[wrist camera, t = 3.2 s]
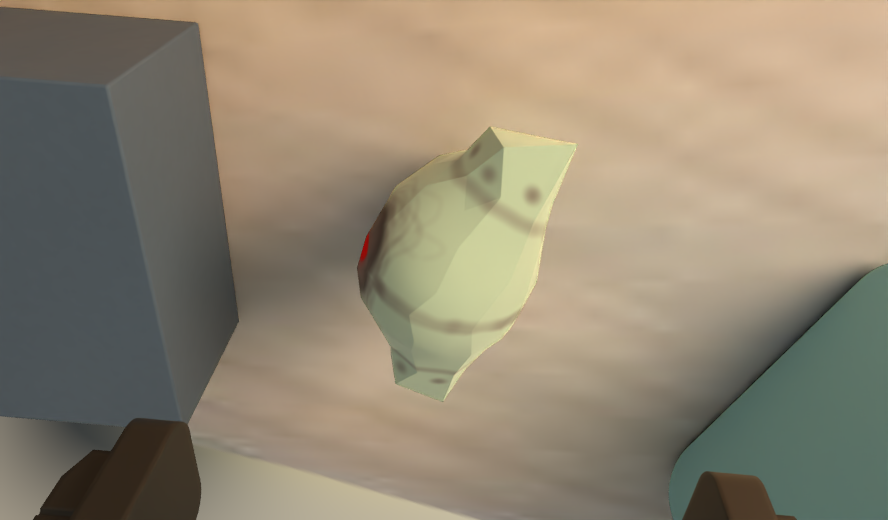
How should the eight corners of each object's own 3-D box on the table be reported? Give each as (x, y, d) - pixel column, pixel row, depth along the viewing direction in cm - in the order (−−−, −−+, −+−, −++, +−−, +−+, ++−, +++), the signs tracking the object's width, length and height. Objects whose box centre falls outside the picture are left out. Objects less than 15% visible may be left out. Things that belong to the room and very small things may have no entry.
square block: (-49, 297, 23) (-167, 402, 19) (-180, -9, 18) (-388, 45, 13) (239, 321, 23) (184, 433, 19) (199, 22, 17) (107, 85, 13)
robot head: (470, 304, 22) (464, 471, 16) (351, 264, 21) (302, 424, 16) (581, 81, 18) (625, 203, 12) (436, 24, 17) (411, 124, 11)
